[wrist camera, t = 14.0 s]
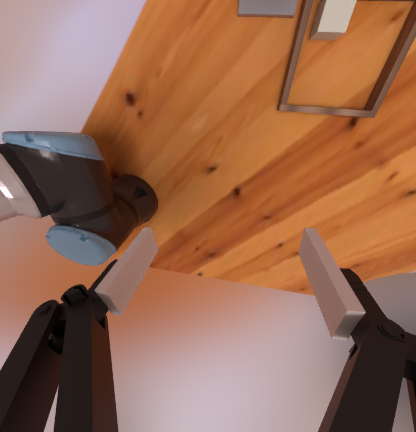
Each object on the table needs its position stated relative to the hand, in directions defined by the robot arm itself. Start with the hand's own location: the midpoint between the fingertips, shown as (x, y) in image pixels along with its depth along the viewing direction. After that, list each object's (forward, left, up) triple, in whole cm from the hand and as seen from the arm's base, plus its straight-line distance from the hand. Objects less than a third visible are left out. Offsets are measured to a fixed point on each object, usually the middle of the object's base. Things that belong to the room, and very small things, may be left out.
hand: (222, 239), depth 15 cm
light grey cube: (+12, +22, -32) cm, 40 cm away
